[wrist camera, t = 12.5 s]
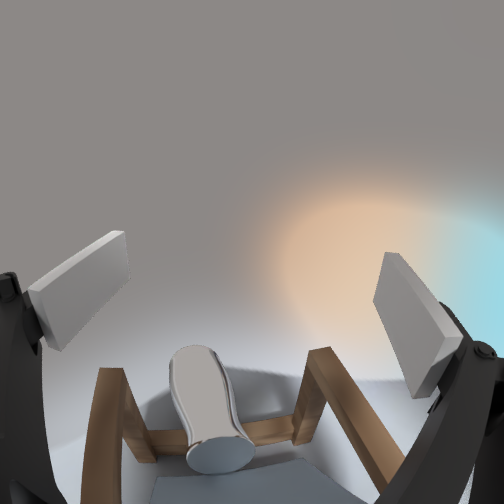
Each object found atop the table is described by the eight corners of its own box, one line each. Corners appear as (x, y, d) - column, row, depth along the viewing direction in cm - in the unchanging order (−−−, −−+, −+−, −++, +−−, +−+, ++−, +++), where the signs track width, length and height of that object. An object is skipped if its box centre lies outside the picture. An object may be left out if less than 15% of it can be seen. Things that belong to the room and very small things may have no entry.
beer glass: (275, 436, 20) (231, 352, 34) (198, 426, 18) (179, 335, 32) (239, 479, 21) (209, 392, 34) (170, 472, 18) (160, 379, 32)
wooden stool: (301, 422, 29) (325, 339, 24) (364, 553, 12) (445, 519, 7) (138, 441, 24) (101, 359, 19) (152, 590, 7) (85, 592, 2)
